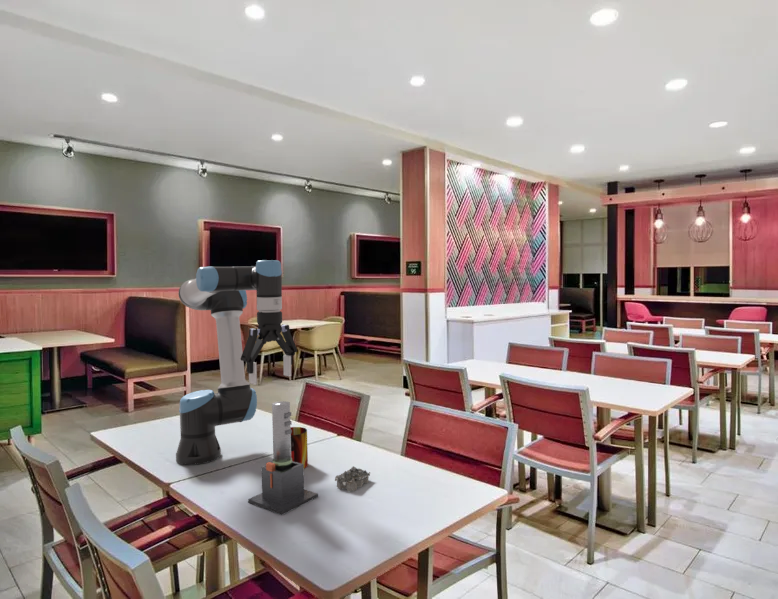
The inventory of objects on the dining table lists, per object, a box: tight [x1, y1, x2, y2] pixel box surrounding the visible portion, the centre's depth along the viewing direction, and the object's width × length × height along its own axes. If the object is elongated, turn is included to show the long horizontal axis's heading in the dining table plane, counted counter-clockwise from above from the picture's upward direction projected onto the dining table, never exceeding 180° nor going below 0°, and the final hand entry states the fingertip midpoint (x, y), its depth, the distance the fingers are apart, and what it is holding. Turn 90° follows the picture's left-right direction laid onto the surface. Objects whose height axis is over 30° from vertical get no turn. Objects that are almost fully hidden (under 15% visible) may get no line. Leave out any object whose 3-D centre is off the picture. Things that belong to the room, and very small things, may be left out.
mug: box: [290, 426, 309, 469], centre depth 176 cm, size 10×14×12 cm
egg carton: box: [334, 466, 371, 492], centre depth 162 cm, size 11×8×4 cm
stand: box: [247, 461, 319, 516], centre depth 151 cm, size 14×14×12 cm
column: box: [271, 400, 292, 471], centre depth 150 cm, size 6×6×20 cm
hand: (270, 379), depth 161 cm, fingers open, 13 cm apart
